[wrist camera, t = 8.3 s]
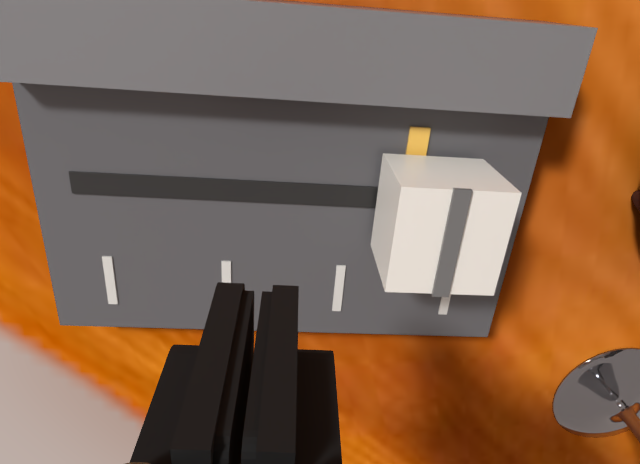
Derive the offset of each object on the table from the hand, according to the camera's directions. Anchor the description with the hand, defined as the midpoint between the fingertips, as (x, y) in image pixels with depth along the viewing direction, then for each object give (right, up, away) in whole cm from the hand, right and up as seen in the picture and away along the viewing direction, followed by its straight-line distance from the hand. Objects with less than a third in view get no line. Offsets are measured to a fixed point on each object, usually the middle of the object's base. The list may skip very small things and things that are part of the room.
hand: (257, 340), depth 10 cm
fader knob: (+6, +3, +10) cm, 12 cm away
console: (0, +5, +12) cm, 13 cm away
